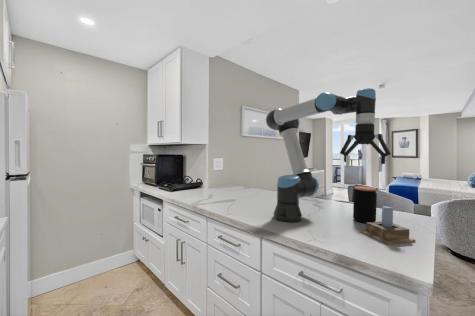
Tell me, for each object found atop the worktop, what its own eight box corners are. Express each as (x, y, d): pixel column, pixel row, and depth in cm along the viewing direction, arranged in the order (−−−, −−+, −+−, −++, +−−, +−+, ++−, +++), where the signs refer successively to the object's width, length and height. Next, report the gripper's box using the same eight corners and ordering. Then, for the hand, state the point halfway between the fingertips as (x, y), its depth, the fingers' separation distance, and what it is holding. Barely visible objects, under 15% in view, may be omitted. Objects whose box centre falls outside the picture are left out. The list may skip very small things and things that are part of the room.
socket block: (360, 232, 102) (361, 221, 102) (385, 230, 105) (385, 220, 105) (387, 244, 88) (388, 232, 88) (415, 241, 91) (415, 230, 91)
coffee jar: (372, 219, 123) (373, 186, 122) (378, 225, 112) (380, 189, 112) (351, 217, 125) (351, 185, 125) (355, 223, 115) (356, 188, 115)
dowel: (378, 233, 98) (379, 206, 98) (386, 232, 99) (387, 206, 99) (386, 236, 94) (388, 208, 94) (394, 236, 95) (395, 208, 95)
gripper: (400, 122, 94) (397, 172, 95) (340, 126, 112) (338, 168, 113) (396, 120, 89) (393, 173, 90) (333, 124, 107) (332, 168, 108)
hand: (363, 170), depth 101 cm, fingers open, 13 cm apart
